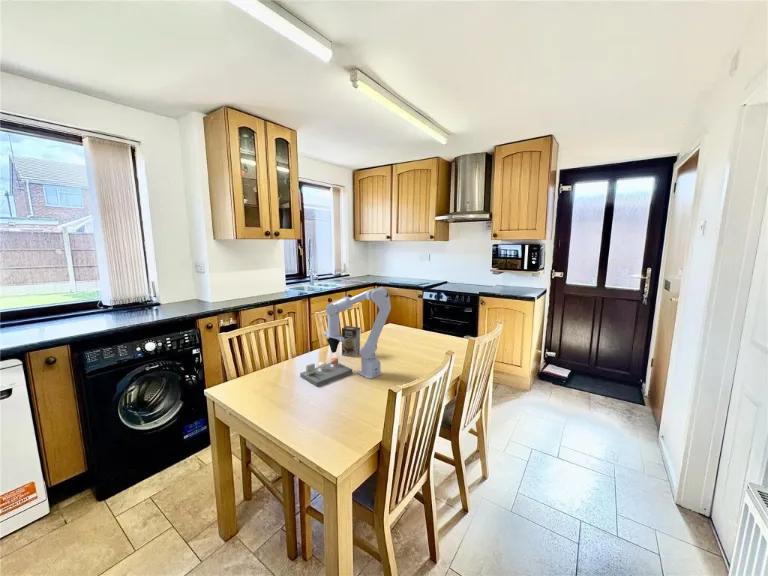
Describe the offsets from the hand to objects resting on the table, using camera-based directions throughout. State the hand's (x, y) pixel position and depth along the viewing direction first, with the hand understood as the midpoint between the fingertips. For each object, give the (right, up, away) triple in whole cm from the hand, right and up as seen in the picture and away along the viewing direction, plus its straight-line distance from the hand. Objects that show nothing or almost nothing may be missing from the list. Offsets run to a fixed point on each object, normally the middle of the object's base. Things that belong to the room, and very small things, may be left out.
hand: (333, 352), depth 158 cm
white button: (-5, -7, -4) cm, 9 cm away
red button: (0, -6, +1) cm, 6 cm away
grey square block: (-10, -8, -9) cm, 16 cm away
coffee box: (+6, -6, +22) cm, 24 cm away
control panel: (-3, -10, -5) cm, 12 cm away
